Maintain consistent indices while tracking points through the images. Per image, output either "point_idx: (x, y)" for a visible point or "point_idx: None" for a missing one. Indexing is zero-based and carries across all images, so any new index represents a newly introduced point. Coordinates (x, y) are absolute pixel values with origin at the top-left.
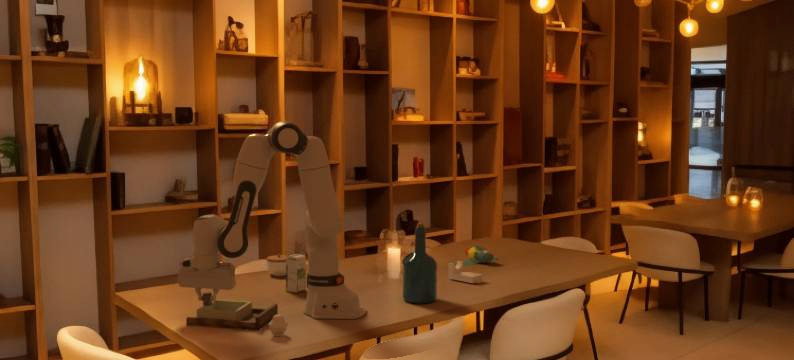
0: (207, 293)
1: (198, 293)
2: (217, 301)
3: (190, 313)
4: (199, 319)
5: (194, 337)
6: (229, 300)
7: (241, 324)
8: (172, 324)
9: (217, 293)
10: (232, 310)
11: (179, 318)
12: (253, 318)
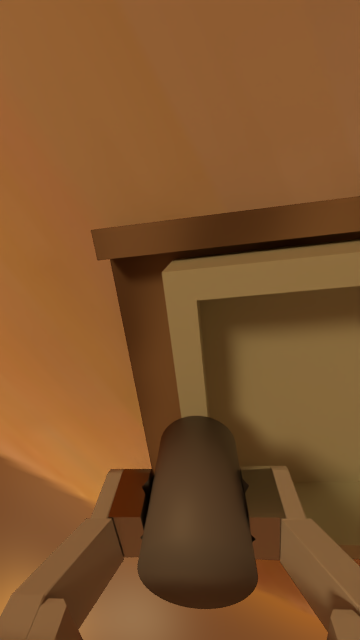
0: (205, 581)
1: (98, 593)
2: (208, 296)
3: (31, 309)
4: None
5: (283, 581)
6: (352, 260)
7: None
8: (93, 484)
9: (345, 558)
10: (355, 292)
11: (52, 407)
12: None
